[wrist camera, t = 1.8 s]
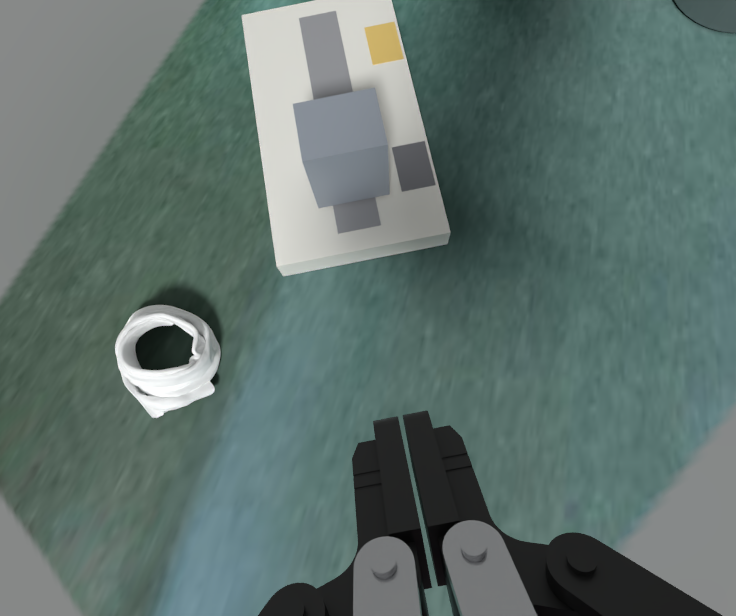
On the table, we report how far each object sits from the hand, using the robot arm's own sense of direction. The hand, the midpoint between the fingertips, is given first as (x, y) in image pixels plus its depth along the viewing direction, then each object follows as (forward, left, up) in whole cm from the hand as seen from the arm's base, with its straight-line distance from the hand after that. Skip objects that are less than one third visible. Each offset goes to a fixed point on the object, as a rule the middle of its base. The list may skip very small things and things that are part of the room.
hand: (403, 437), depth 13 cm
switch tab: (0, -18, -15) cm, 23 cm away
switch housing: (0, -23, -17) cm, 29 cm away
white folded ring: (+14, -8, -18) cm, 24 cm away
